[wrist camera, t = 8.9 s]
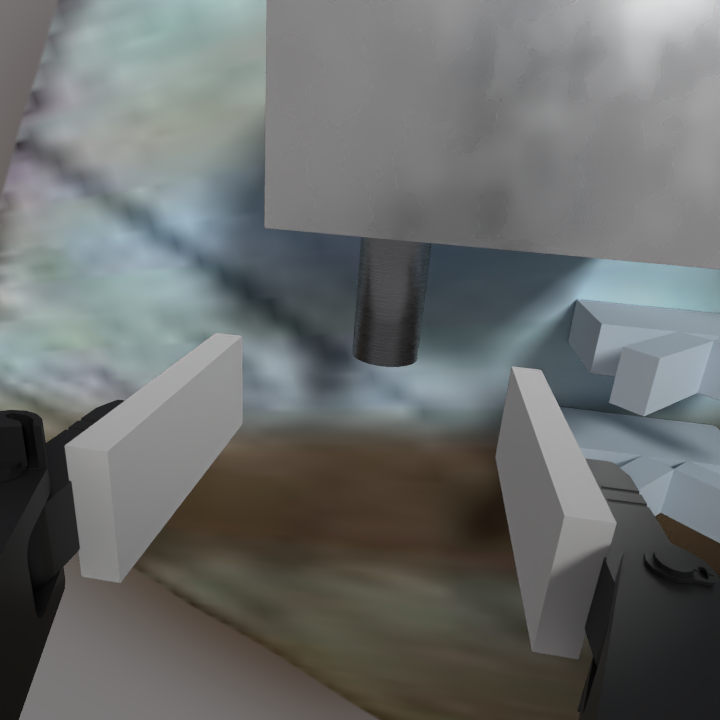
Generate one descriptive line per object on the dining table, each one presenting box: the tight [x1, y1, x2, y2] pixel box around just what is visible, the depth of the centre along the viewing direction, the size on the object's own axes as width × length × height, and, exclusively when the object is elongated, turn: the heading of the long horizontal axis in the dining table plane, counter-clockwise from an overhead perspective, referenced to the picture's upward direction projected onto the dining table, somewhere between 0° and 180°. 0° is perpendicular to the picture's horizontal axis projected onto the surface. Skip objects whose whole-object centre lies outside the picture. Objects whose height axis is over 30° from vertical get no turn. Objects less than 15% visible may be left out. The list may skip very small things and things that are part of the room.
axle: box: [353, 237, 431, 367], centre depth 22 cm, size 16×3×3 cm, turn 175°
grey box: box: [264, 0, 720, 269], centre depth 23 cm, size 8×16×11 cm, turn 86°
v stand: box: [560, 299, 720, 543], centre depth 27 cm, size 9×9×10 cm
